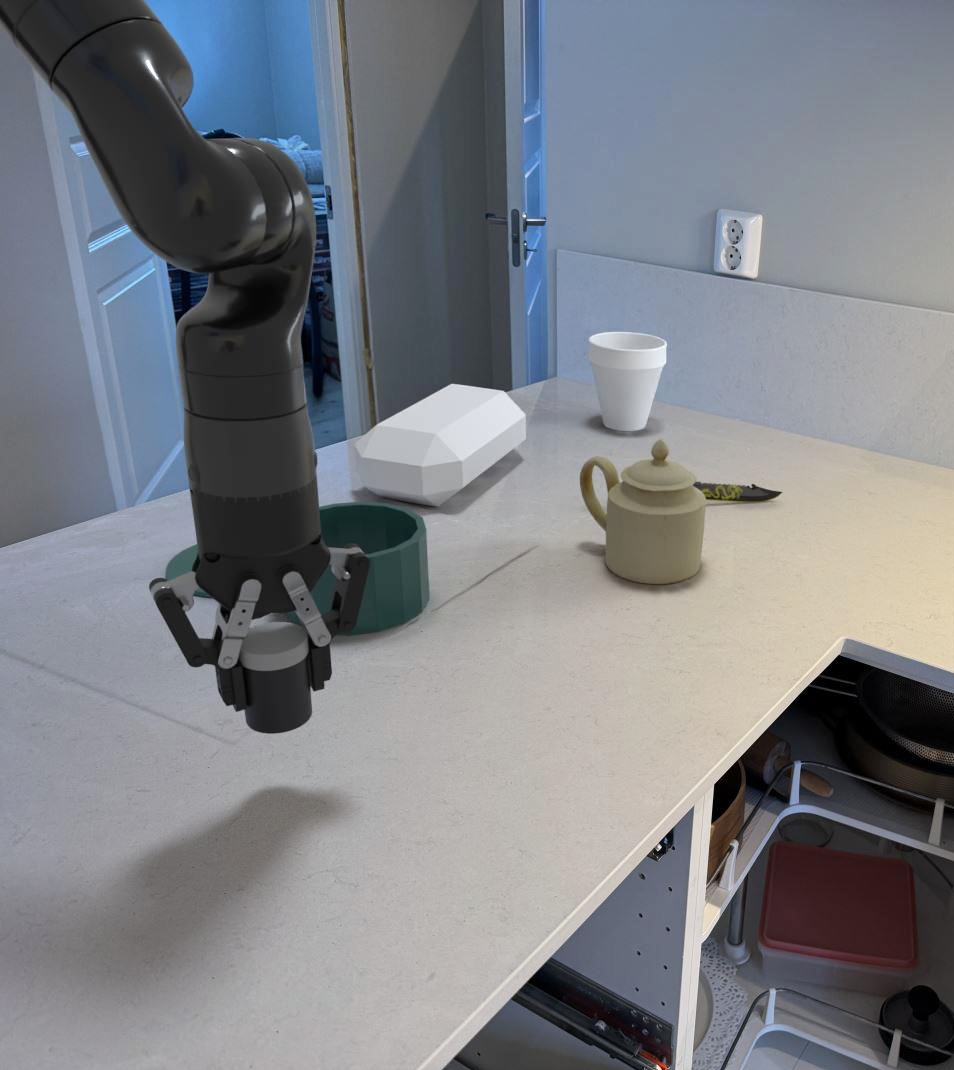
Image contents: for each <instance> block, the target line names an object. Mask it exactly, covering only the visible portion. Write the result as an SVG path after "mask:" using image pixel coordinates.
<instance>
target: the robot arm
mask: <svg viewBox="0 0 954 1070" xmlns="http://www.w3.org/2000/svg"><path fill="white" fill-rule="evenodd" d="M0 28H1V29H2V30H3V32H4V33H5V35H7V37H8V38H9V39H10V41H11V42H12V44H14V46H15V48H17V50H18V51H19V53H21V55H22V56H23V57H24V59H25V60H26V61H27V62H28V64H30V66H31V67H32V68H33V70H35V72H36V73H37V74H38V76H39V77H40V78H41V79H42V80H43V82H44V83H45V84H46V86H47V87H48V88H49V89H50V90H51V92H53V94H54V95H55V96H56V97H57V99H59V100H60V102H61V103H62V104H63V105H64V107H65V108H66V109H67V110H68V111H69V113H70V114H71V116H72V118H73V121H74V123H75V124H76V126H77V129H78V131H79V134H80V135H81V136H80V137H81V138H82V141H83V143H84V145H85V148H86V150H87V152H88V154H89V156H90V158H91V160H92V163H93V164H94V165H95V168H96V170H97V172H98V174H99V176H100V177H101V181H102V182H103V184H104V186H105V188H106V191H107V192H108V194H109V196H110V198H111V200H112V202H113V205H114V206H115V209H116V210H117V212H118V213H119V215H120V217H121V218H122V220H123V221H124V223H125V224H126V226H127V227H128V229H129V230H130V231H131V232H132V233H133V234H134V236H135V237H136V238H137V239H138V240H139V241H140V242H141V243H142V245H144V246H145V247H146V248H147V249H149V251H151V252H152V253H153V254H154V255H156V256H157V257H159V258H160V259H161V260H163V261H164V262H166V263H168V264H169V265H172V266H173V267H175V268H177V269H179V270H181V271H185V272H189V273H193V274H202V275H203V274H208V281H207V288H206V292H205V294H204V296H203V297H202V299H201V300H200V301H199V302H198V303H196V305H194V306H193V307H191V308H190V309H189V310H188V311H187V312H186V313H184V314H183V315H182V316H181V317H180V319H178V322H177V324H176V326H175V334H174V335H175V352H176V353H175V354H176V362H177V370H178V377H179V385H180V392H181V400H182V405H183V449H184V456H185V463H186V472H187V479H188V487H189V493H190V500H191V501H190V502H191V507H192V509H191V510H192V516H193V523H194V531H195V538H196V544H197V546H198V553H197V557H196V560H195V562H194V564H193V566H192V571H191V572H188V573H186V574H184V575H181V576H179V577H176V578H174V579H171V580H169V581H168V579H167V578H165V577H156V578H154V579H153V580H151V581H150V582H149V584H148V589H149V592H150V594H151V597H152V599H153V601H154V603H155V606H156V608H157V609H158V611H159V613H160V614H161V615H160V616H161V617H162V619H163V620H164V622H165V624H166V625H167V627H168V629H169V631H170V633H171V635H172V637H173V638H174V640H175V642H176V644H177V646H178V647H179V649H180V651H181V653H182V655H183V657H184V659H185V660H186V662H187V664H188V665H189V667H192V668H201V667H203V666H204V665H211V666H214V671H215V679H216V684H217V693H218V694H219V696H220V698H221V701H222V702H223V704H225V706H226V707H230V706H232V707H233V710H234V711H235V713H238V712H241V711H245V709H247V702H246V694H245V685H244V677H243V669H242V665H241V663H240V661H239V660H238V657H239V653H240V650H241V646H242V642H243V639H245V638H246V637H247V634H248V630H249V628H250V627H251V622H252V621H253V620H259V619H262V618H263V617H266V616H268V615H270V614H284V613H287V612H292V611H295V612H296V614H297V616H298V617H299V619H300V621H301V623H302V625H303V627H304V629H305V630H306V632H307V635H308V646H309V652H308V665H309V677H310V689H311V691H313V692H318V691H321V690H325V687H326V686H325V682H328V681H330V680H331V677H332V675H333V668H332V656H331V655H332V654H331V642H332V640H333V639H334V638H335V637H336V636H339V635H338V634H339V633H341V632H344V633H348V632H351V631H352V630H353V629H354V628H355V627H356V623H357V619H358V614H359V610H360V606H361V601H362V597H363V593H364V589H365V584H366V580H367V576H368V572H369V567H370V560H369V558H368V557H367V556H366V555H365V554H364V552H363V551H362V550H361V549H360V548H359V547H358V546H357V545H356V544H354V543H349V544H347V545H345V546H344V547H343V548H331V547H327V546H326V545H325V543H324V542H323V540H322V537H321V523H320V511H319V507H320V501H319V500H320V499H319V486H318V475H317V468H318V453H317V452H316V447H315V439H314V432H313V428H312V423H311V419H310V415H309V409H308V403H307V394H306V392H307V391H306V381H305V367H304V355H303V347H302V331H303V327H304V321H305V316H306V312H307V308H308V302H309V295H310V289H311V283H312V275H313V270H314V269H313V268H314V262H315V256H316V255H315V254H316V243H317V220H316V219H317V218H316V210H315V204H314V200H313V197H312V194H311V191H310V187H309V185H308V183H307V180H306V178H305V175H304V174H303V172H302V171H301V169H300V168H299V166H298V165H297V164H296V162H295V161H294V159H293V158H292V157H290V156H289V155H288V154H287V153H286V152H285V151H283V150H282V149H281V148H279V147H278V146H276V145H274V143H273V144H272V143H271V142H268V141H265V140H262V139H257V138H253V137H229V138H228V137H227V138H204V137H203V136H202V135H201V134H200V133H199V131H198V130H196V128H195V127H194V125H193V124H192V122H191V121H190V120H189V117H187V115H186V113H185V111H184V109H183V108H184V107H185V106H186V104H187V102H188V101H189V99H190V98H191V95H192V93H193V91H194V84H195V83H194V81H195V79H194V73H193V72H194V71H193V68H192V65H191V64H190V62H189V60H188V58H187V56H186V55H185V53H184V51H183V50H182V49H181V47H180V45H179V44H178V42H177V41H176V40H175V38H174V37H173V36H172V34H171V33H170V32H169V30H168V29H167V28H166V27H165V25H164V24H163V23H162V21H161V20H160V19H159V18H158V16H157V15H156V14H155V12H154V11H153V9H152V8H151V7H150V6H149V4H148V3H147V1H145V0H0ZM329 564H330V565H331V570H332V572H333V573H334V575H335V576H336V580H335V584H334V589H333V593H332V598H331V602H330V607H329V611H328V612H326V613H324V614H323V615H321V614H320V612H319V610H318V608H317V606H316V605H315V603H314V601H313V599H312V597H311V595H310V592H311V591H312V589H313V588H314V586H315V585H316V583H317V582H318V580H319V579H320V577H321V576H322V574H323V572H324V571H325V569H326V568H327V566H328V565H329ZM199 588H201V589H202V590H203V591H204V592H206V593H207V594H208V595H209V596H211V597H210V598H212V599H213V600H215V601H216V602H217V607H216V611H215V624H214V628H213V632H212V634H211V635H212V636H211V638H203V637H202V638H201V637H199V635H198V634H197V632H196V630H195V629H194V625H192V623H191V621H190V619H189V617H188V615H187V613H186V612H189V611H190V610H191V609H193V607H194V605H195V600H194V596H195V595H194V593H195V591H196V590H198V589H199Z"/></svg>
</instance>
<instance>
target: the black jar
mask: <svg viewBox="0 0 954 1070" xmlns="http://www.w3.org/2000/svg"><path fill="white" fill-rule="evenodd" d="M308 652H309V646H308V635H307V632H306V630H305V629H304V628H303V627H301V626H299V625H296V624H294V623H293V622H288V621H287V622H286V621H272V622H265V623H261V624H256V625H253V626H250V627H249V630H248V634H247V637H246V638H245V639H243V642H242V646H241V650H240V653H239V657H238V660H239V661H240V663H241V665H242V669H243V677H244V685H245V694H246V702H247V709H245V710H244V717H245V723H246V726H248V728H250V729H251V730H253V731H254V732H257V733H260V734H265V735H266V734H270V735H272V734H274V735H275V734H285V733H288V732H291V731H294V730H297V729H299V728H301V727H302V726H304V725H305V724H306V723H307V722H309V720H310V718H311V717H312V715H313V704H312V703H313V702H312V688H311V686H310V677H309V665H308Z"/></svg>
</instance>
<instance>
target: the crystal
mask: <svg viewBox="0 0 954 1070" xmlns="http://www.w3.org/2000/svg"><path fill="white" fill-rule="evenodd" d="M526 439H527V415H526V413H525V412H524V411H523V410H522V409H521V408H520V407H519V406H518V405H517V403H515V402H514V401H513V399H512V398H511V397H510V396H509V395H508V393H506V392H505V390H500V389H493V388H488V387H487V388H484V387H479V386H472V385H465V384H457V383H450V384H448V385H447V386H445V387H443V388H441V389H439V390H438V391H436V392H434V393H432V394H430V395H429V396H426V397H425V398H423V399H421V400H419V401H418V402H415V403H414V404H412V405H410V406H408V407H406V408H404V409H403V410H401V411H399V412H397V413H395V414H394V415H392V416H390V417H388V418H386V419H385V420H382V421H381V422H379V423H377V424H376V425H375V426H373V427H372V428H371V429H370V430H368V432H366V433H365V434H364V435H363V436H362V437H361V438H359V439H358V440H357V441H356V442H355V443H354V444H353V449H354V461H355V463H354V464H355V471H356V474H357V476H358V478H359V480H360V482H361V483H362V485H363V487H365V488H366V489H368V490H369V491H370V492H372V493H374V494H375V495H377V496H378V497H379V498H383V499H387V500H393V501H398V502H405V503H411V504H412V503H413V504H419V505H424V506H429V507H436V508H439V507H441V505H443V504H444V503H445V502H447V501H448V500H449V499H451V498H452V497H453V496H455V495H456V494H457V493H458V492H459V491H461V490H462V489H464V488H465V487H466V486H468V485H469V484H470V483H472V482H473V481H474V480H475V479H477V478H478V477H479V476H480V475H482V474H483V473H484V472H486V471H487V470H489V468H491V467H492V466H494V465H495V464H496V463H497V462H499V461H500V460H501V459H502V458H504V457H505V456H507V454H509V453H510V452H511V451H513V450H514V449H515V448H517V447H518V446H519V445H520V444H521V443H523V442H524V441H526Z"/></svg>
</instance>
